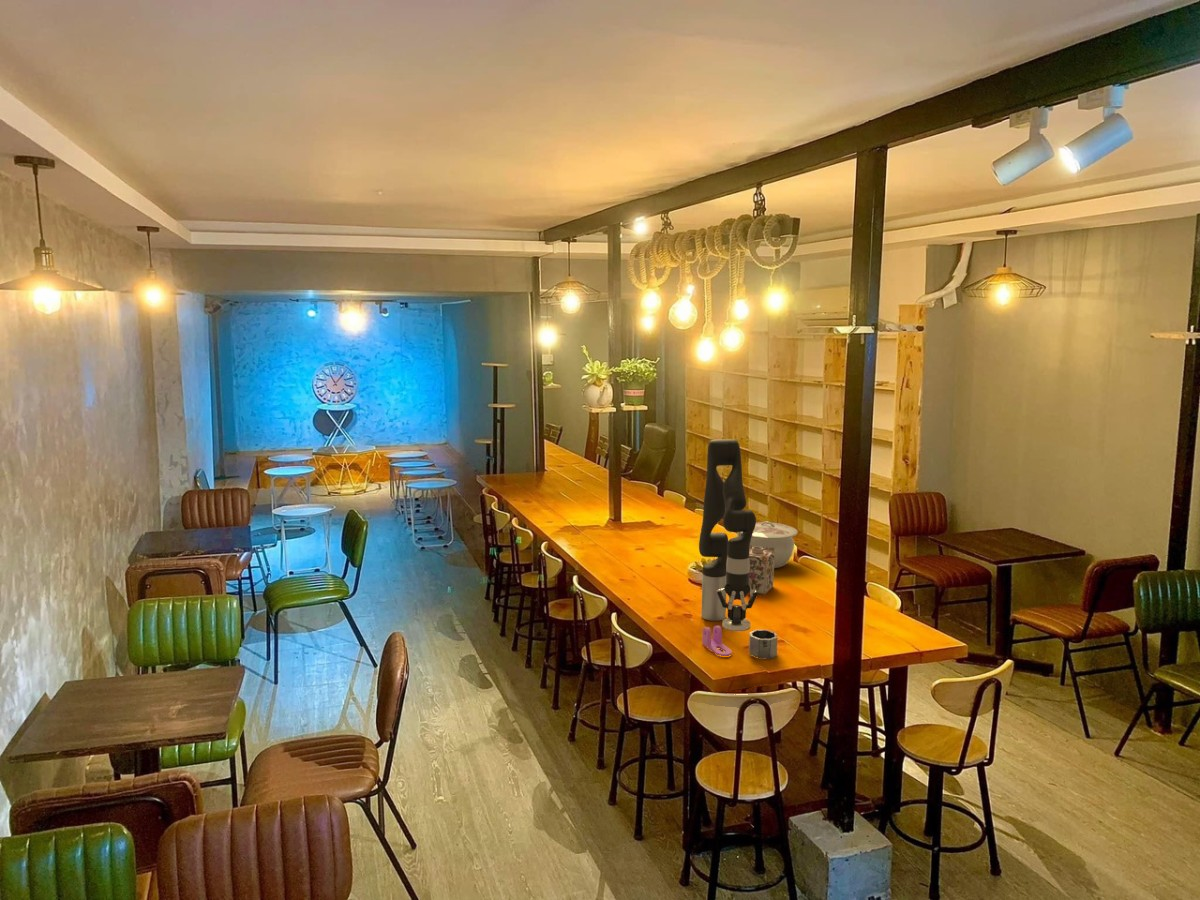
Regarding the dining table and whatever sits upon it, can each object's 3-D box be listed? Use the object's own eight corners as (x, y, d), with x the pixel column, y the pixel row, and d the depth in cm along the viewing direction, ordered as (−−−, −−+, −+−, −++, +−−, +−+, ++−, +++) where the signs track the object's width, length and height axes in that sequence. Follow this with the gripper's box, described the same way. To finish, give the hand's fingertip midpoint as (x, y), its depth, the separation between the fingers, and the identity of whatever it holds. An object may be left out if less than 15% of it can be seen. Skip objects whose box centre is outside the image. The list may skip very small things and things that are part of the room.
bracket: (702, 644, 293) (702, 626, 292) (716, 642, 295) (716, 624, 294) (720, 659, 281) (720, 639, 280) (734, 656, 283) (735, 637, 282)
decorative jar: (738, 590, 350) (739, 549, 347) (747, 582, 360) (748, 542, 357) (766, 595, 344) (767, 553, 341) (774, 586, 354) (775, 546, 351)
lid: (721, 620, 280) (721, 601, 279) (748, 621, 280) (749, 601, 279) (723, 631, 271) (724, 611, 270) (751, 631, 271) (752, 611, 270)
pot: (747, 646, 291) (748, 627, 290) (773, 647, 291) (774, 627, 289) (751, 661, 279) (751, 641, 278) (778, 662, 278) (779, 642, 277)
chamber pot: (802, 574, 372) (804, 529, 368) (741, 573, 372) (742, 528, 369) (789, 556, 399) (791, 514, 396) (732, 555, 400) (733, 513, 397)
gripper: (758, 566, 275) (756, 615, 278) (715, 565, 276) (714, 614, 280) (760, 573, 268) (759, 624, 271) (716, 572, 269) (715, 623, 272)
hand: (736, 619), depth 275 cm, fingers closed on lid, 3 cm apart
